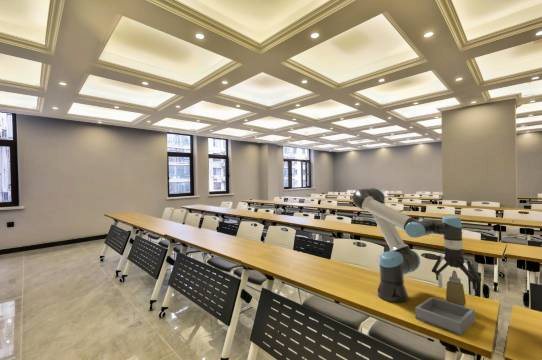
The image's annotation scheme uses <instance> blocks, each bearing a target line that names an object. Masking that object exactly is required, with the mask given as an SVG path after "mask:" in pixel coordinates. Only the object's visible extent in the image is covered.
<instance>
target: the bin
mask: <svg viewBox="0 0 542 360" xmlns="http://www.w3.org/2000/svg"><path fill="white" fill-rule="evenodd" d="M414 309H415V311H414V312H415V319H416V320H419V321H421V322H424V323H426V324H429V325H432V326H434V327H438V328H439V329H442V330H444V331H447V332H450V333H452V334H456V335H457V336H459V337H461V336H462V335H463V334H464V333H465V332H466V331H467V330H469V328H470V327H471V326H472V325H473V324H474V323H475V322H476V315H475V312H476V311H475V309H474V308H470V307H467V306H461V305H457V304H454V303H451V302H447V300H444V299H441V298H438V297H434V296H431V297H429V298H427V299H426V300H424V301H423V302H422V303H421V302H420V304H418V305H417V306H415V307H414Z"/></svg>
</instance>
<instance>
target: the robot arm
mask: <svg viewBox="0 0 542 360" xmlns="http://www.w3.org/2000/svg"><path fill="white" fill-rule="evenodd" d="M385 199H386V196H385V193H384V192H383V190H380V189H379V188H374V187H371V188H359V189H357V190H356V191H354V192H353V195H352V203H353V204H354V205H355V207H357V208H358V209H360V210H362V211H364V212H369V213H370V214H371V215H372V217H373V219H374V221H375V222H376V225H377V226H378V228H379V231H380V232H381V234H382V236H383V239H384V240H385V242H386V243H387V245H388V247H389V251H383V252H382V253H381V254H379V260H378V261H379V262H378V263H379V275H380V276H379V277H380V280H379V281H380V282H379V284H378V288H377V296H378V297H379V298H380V299H381V300H384V301H387V302H389V303H390V302H391V303H404V302H405V303H406V302H407V301H408V300H409V293H408V291H407V288H406V286H405V282H404V281H405V280H404V278H405V277H404V275H406V274H408V273H413V272H415V271H416V270H418V269H419V268H420V266H421V258H420V256H419V254H418V253H417V252H416V251H414V250H413V249H411V247H410V245H408V244H406V243H405V242H404V240H403V238H402V237H401V235H400V233H399V231H398V229H397V228H396V227H398V228H399V229H401V230H404V231H405V233H406V234H407V236H408V237H410V238H413V239H417V238H421V237H424V236H428V235H434V234H435V235H442V236H443V247H444V255H442V254H439V255H438V256H437V260H436V261H435V263H434V266H433V267H432V269H431V272H432V273H434V274H435V280H436V281H438V283H437V284H438V288H439V289H441V288H443V275H442V272H443V271H444V270H445V269H446V268H447V267H451V268H455V269H456V268H457V269H460V270H461V271H462V272H463V273H464V275H465V276H466V277H467V278H468V279H469V280H470V285H469V286H470V297H475V296H476V291H475V290H477V289H478V284H477V283H480V282H482V281H483V280H482V278H481V277H480V275H479V274H478V271H477V270H476V268H475V267H474V264H473V261H472V259H466V260H465V259H464V250H463V248H464V245H463V244H464V243H463V225H462V220H461V218H460V217H459V216H453V215H451V216H449V215H446V216H443V217H442V219H433V218H419V219H418V220H417V219H415V218H413V217H411V216H409V215H407V214H405V213H403V212H401V211H398V210H396V209H394V208H392V207H391V206H388V205H387V204H386V202H385ZM443 260H444V261H445V263H444V264H443V265H442V266H441V267H440V268H439V266H440V264H441V262H442V261H443ZM465 265H467V267H468V268H469V270H468V268H466V266H465ZM438 268H439V269H438Z"/></svg>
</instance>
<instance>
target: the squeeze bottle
mask: <svg viewBox="0 0 542 360" xmlns="http://www.w3.org/2000/svg"><path fill="white" fill-rule="evenodd" d="M461 281H462V279H461V278H459V277H458V274H457V270H452V273H451V276H450V277H448V281H447V282H446V293H445V299H446V300H445V301H447V302H451V303H454V304H457V305H461V306H464V307H466V303H467V301H466V295H465V287H464V284H463V283H462V282H461Z"/></svg>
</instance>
